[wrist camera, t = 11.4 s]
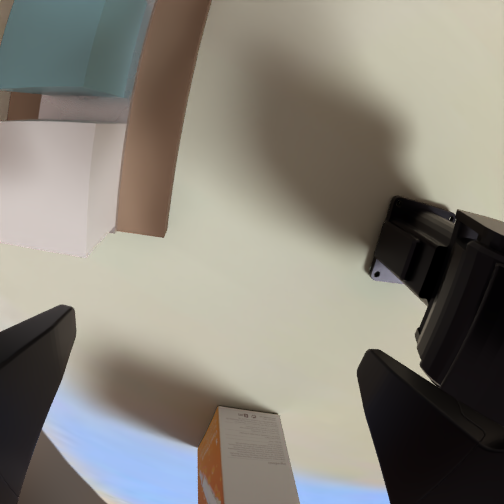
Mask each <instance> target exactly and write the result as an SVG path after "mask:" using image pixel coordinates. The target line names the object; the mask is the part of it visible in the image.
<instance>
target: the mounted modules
mask: <svg viewBox="0 0 504 504" xmlns="http://www.w3.org/2000/svg"><path fill="white" fill-rule="evenodd" d="M126 125H127V124H124V123H112V122H98V121H81V120H56V119H28V120H8V121H0V243H4V244H10V245H15V246H20V247H26V248H31V249H37V250H42V251H48V252H54V253H60V254H65V255H71V256H77V257H83V258H87V257H88V256H89V254H90V253H91V252H92V251H93V250H94V249H95V247H96V246H97V245H98V244H99V243H100V242H101V241H102V240H103V238H104V237H105V236H106V235H107V234H108V233H109V232H110V231H111V230H112V229H113V227H114V226H115V221H116V208H117V196H118V186H119V176H120V168H121V159H122V152H123V144H124V138H125V131H126Z"/></svg>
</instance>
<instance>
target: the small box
mask: <svg viewBox="0 0 504 504" xmlns="http://www.w3.org/2000/svg"><path fill="white" fill-rule="evenodd" d="M198 504H300V501H299V497H298V493H297V489H296V484H295V480H294V476H293V472H292V468H291V463H290V459H289V455H288V451H287V446H286V442H285V437H284V433H283V428H282V424H281V419H280V415H278V414H270V413H263V412H255V411H248V410H242V409H235V408H229V407H223V406H218V407H217V409H216V412H215V414H214V417H213V419H212V421H211V423H210V425H209V427H208V430H207V432H206V434H205V435H204V437H203V439H202V441H201V443H200V445H199V447H198Z"/></svg>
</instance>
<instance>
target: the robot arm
mask: <svg viewBox="0 0 504 504" xmlns="http://www.w3.org/2000/svg"><path fill="white" fill-rule="evenodd" d="M397 201H400V203H399V205H398V206H397ZM450 217H451V218H450ZM449 218H450V220H449ZM455 220H456V222H455ZM454 223H455V224H454ZM374 255H375V256H374V259H373V262H372V265H371V268H370V271H369V276H370V277H371V278H372V279H373V280H375V281H383V282H391V283H399V284H405V285H406V286H407V287H408V288H409V289H410V290H411V291H412V292H413V293H414V294H415V295H416V296H417V297H418V298H419V299H420V300H421V301H422V302H424V303H425V304H426V305H427V306H428V307H427V310H426V312H425V315H424V317H423V320H422V322H421V325H420V327H419V328H417V330H416V333H415V338H416V341H417V350H418V353H419V356H420V358H421V362H420V367H421V369H422V370H423V371H424V372H425V374H426V375H427V376H428V377H429V378H430V380H431V381H432V382H433V383H434V384H435V385H436V386H435V385H434V384H432V383H431V382H429V381H427V380H426V379H424V378H423V377H421V376H420V375H418V374H417V373H415V372H414V371H412V370H410V369H409V368H407V367H406V366H404V365H403V364H401V363H400V362H398V361H397V360H395V359H393V358H392V357H390V356H389V355H387V354H386V353H384V352H383V351H381V350H379V349H369V350H367V351H366V353H365V355H364V357H363V359H362V361H361V363H360V365H359V367H358V369H357V378H358V383H359V388H360V393H361V398H362V403H363V408H364V412H365V416H366V420H367V423H368V426H369V429H370V433H371V436H372V439H373V443H374V446H375V450H376V453H377V457H378V460H379V464H380V467H381V471H382V474H383V478H384V481H385V485H386V489H387V493H388V496H389V500H390V504H504V222H502V221H499V220H496V219H493V218H489V217H485V216H482V215H478V214H474V213H470V212H467V211H463V210H459V209H457V212H456V216H455V214H454V213H452V212H450V211H447V210H444V209H440V208H437V207H434V206H431V205H428V204H424V203H421V202H418V201H415V200H411V199H408V198H404V197H401V196H395V197H393V198H392V200H391V204H390V207H389V211H388V214H387V218H386V221H385V223H384V224H383V227H382V231H381V234H380V237H379V241H378V244H377V247H376V250H375V253H374ZM377 271H378V273H377V274H376V275H374V274H375V272H377ZM75 337H76V320H75V310H74V308H73V307H71V306H67V305H59V306H56V307H54V308H52V309H50V310H47V311H45V312H43V313H41V314H38V315H36V316H34V317H32V318H30V319H27V320H25V321H23V322H21V323H19V324H16V325H14V326H12V327H10V328H8V329H6V330H3V331H1V332H0V504H17V503H18V497H19V495H20V492H21V488H22V485H23V482H24V479H25V475H26V472H27V469H28V466H29V463H30V460H31V457H32V454H33V451H34V448H35V446H36V443H37V440H38V438H39V435H40V432H41V430H42V427H43V424H44V422H45V419H46V417H47V414H48V412H49V409H50V407H51V404H52V402H53V400H54V397H55V395H56V392H57V390H58V388H59V385H60V383H61V380H62V378H63V375H64V372H65V368H66V365H67V362H68V359H69V356H70V353H71V350H72V347H73V344H74V341H75ZM438 387H439V388H438Z"/></svg>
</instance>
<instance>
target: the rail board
mask: <svg viewBox="0 0 504 504" xmlns="http://www.w3.org/2000/svg"><path fill="white" fill-rule="evenodd" d="M211 1H212V0H158V1H157V4H156V8H155V11H154V14H153V18H152V21H151V25H150V29H149V32H148V36H147V40H146V44H145V48H144V52H143V56H142V60H141V64H140V69H139V73H138V78H137V83H136V88H135V93H134V98H133V103H132V109H131V114H130V120H129V126H128V133H127V139H126V146H125V153H124V161H123V169H122V178H121V187H120V198H119V209H118V223H117V231H121V232H128V233H135V234H142V235H149V236H156V237H162V238H164V236H165V234H166V231H167V226H168V218H169V210H170V202H171V195H172V188H173V181H174V175H175V168H176V162H177V156H178V150H179V144H180V138H181V133H182V127H183V122H184V116H185V111H186V106H187V101H188V96H189V91H190V87H191V82H192V77H193V73H194V68H195V64H196V60H197V55H198V51H199V47H200V43H201V39H202V35H203V31H204V27H205V23H206V19H207V16H208V12H209V8H210V5H211ZM41 97H42V95H41V94H32V93H22V92H11V96H10V102H9V109H8V117H7V121H8V120H28V119H38V117H39V110H40V103H41Z"/></svg>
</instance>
